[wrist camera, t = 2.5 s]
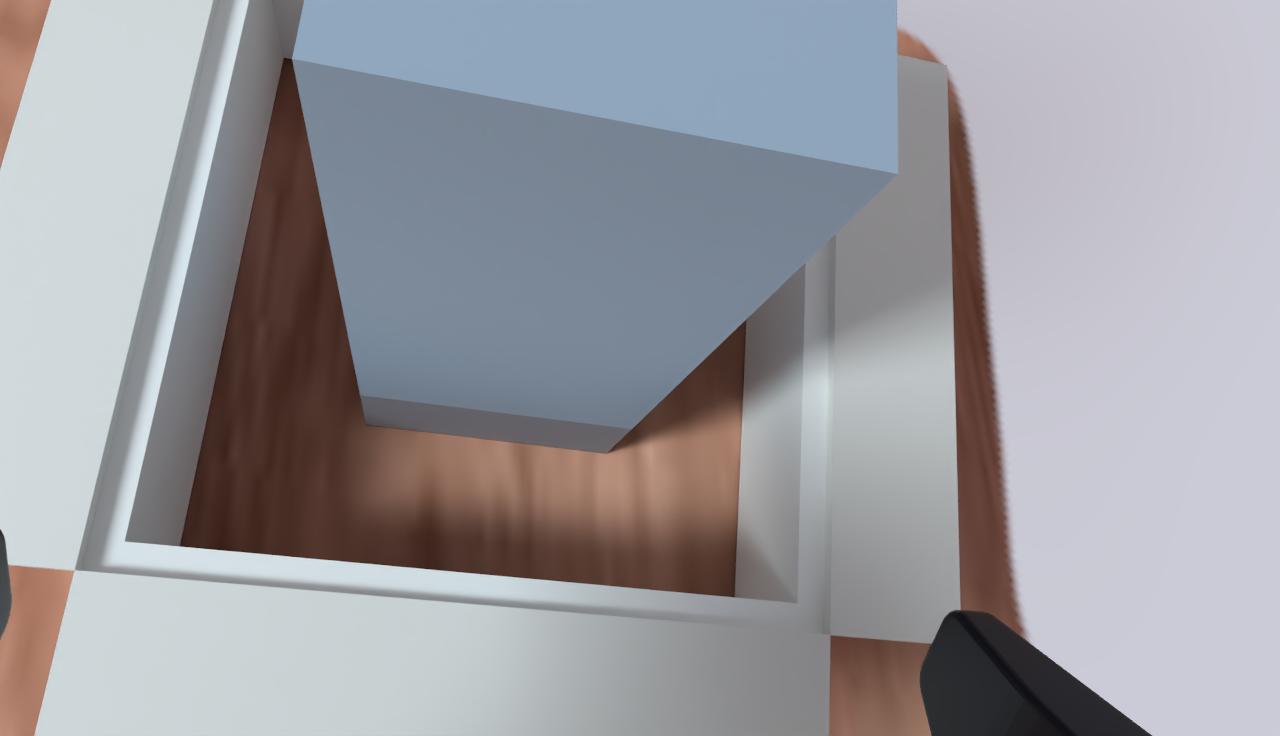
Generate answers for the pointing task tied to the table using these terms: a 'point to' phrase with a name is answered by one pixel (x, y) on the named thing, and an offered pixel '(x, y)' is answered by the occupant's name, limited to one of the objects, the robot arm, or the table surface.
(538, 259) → the box
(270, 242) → the table surface
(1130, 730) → the robot arm
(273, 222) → the table surface
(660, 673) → the carton
